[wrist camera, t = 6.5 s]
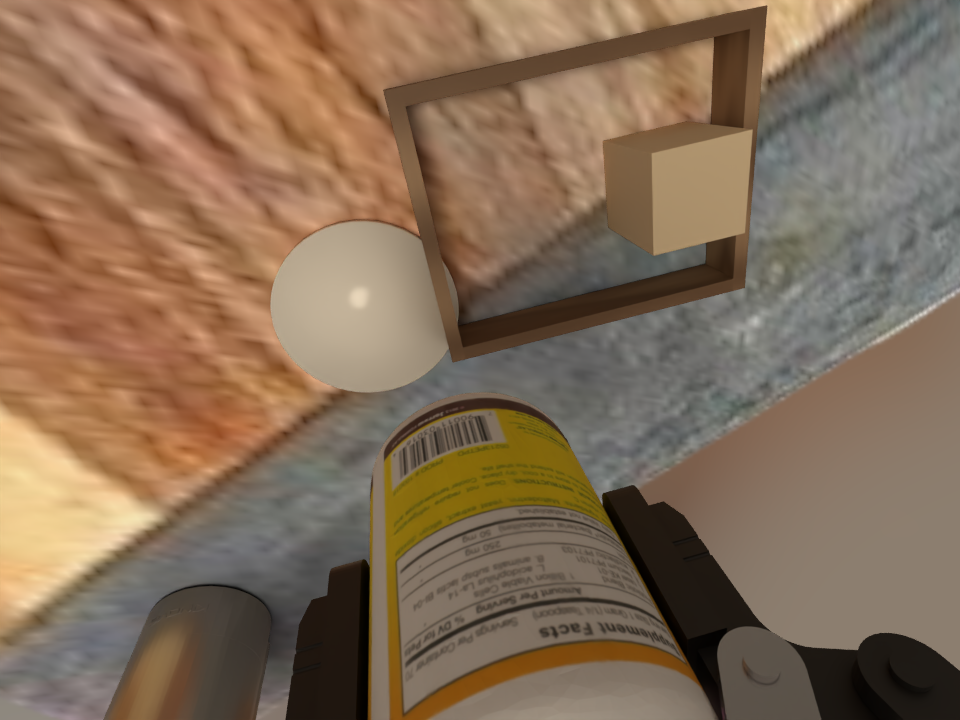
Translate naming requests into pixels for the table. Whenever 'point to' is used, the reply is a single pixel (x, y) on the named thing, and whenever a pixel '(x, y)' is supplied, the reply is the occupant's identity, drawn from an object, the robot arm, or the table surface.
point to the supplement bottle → (507, 581)
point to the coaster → (360, 307)
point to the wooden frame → (722, 273)
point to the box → (678, 185)
